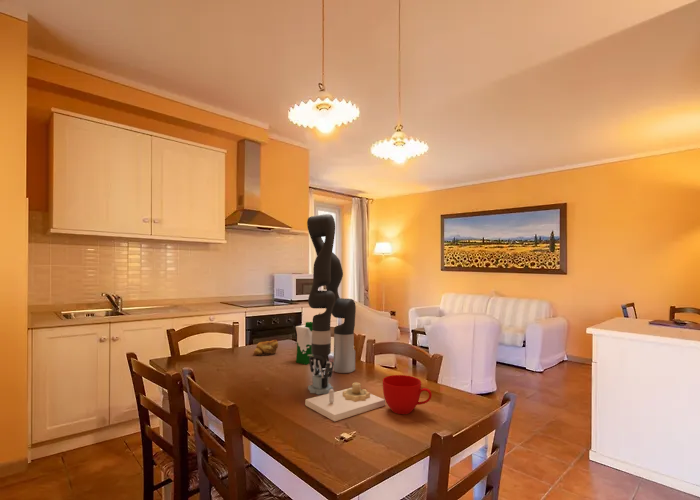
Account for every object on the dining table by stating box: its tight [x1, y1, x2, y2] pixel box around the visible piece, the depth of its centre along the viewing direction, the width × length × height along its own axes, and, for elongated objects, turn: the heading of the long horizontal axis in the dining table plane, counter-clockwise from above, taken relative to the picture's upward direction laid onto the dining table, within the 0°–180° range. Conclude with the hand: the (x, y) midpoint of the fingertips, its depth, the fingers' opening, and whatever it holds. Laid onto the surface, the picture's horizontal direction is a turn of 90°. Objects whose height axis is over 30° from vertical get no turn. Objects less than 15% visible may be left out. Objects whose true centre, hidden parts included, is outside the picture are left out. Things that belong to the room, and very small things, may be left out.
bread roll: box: [253, 339, 279, 356], centre depth 203 cm, size 13×10×8 cm
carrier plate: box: [304, 381, 386, 422], centre depth 130 cm, size 22×17×7 cm
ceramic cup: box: [382, 374, 433, 415], centre depth 125 cm, size 13×17×10 cm
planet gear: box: [307, 373, 334, 396], centre depth 145 cm, size 10×10×6 cm
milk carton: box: [295, 321, 314, 365], centre depth 187 cm, size 9×9×20 cm
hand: (320, 385), depth 145 cm, fingers closed on planet gear, 4 cm apart
